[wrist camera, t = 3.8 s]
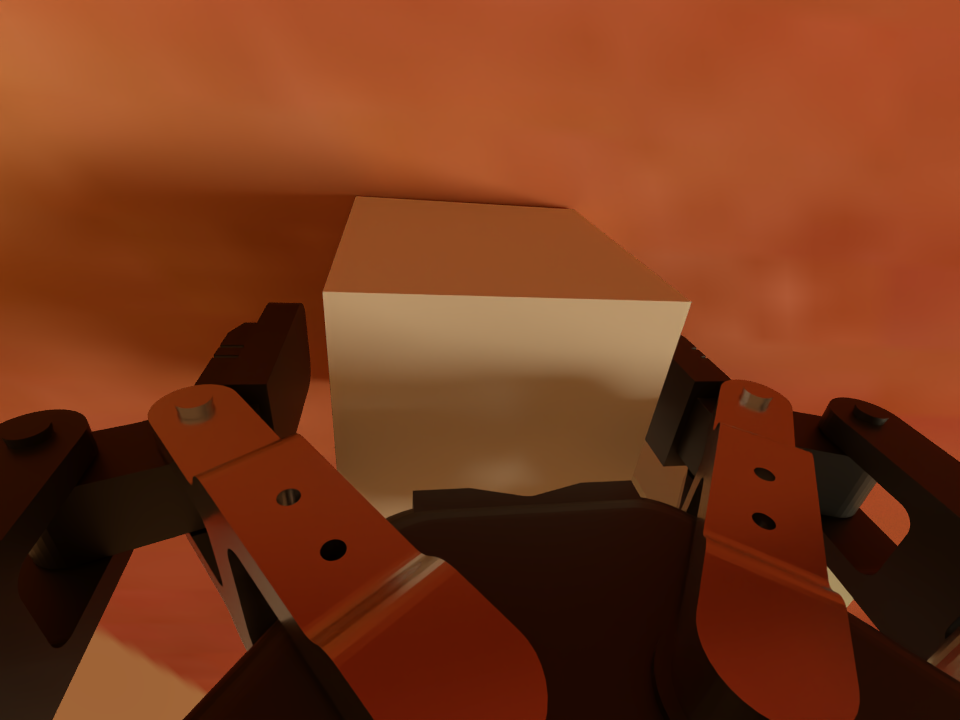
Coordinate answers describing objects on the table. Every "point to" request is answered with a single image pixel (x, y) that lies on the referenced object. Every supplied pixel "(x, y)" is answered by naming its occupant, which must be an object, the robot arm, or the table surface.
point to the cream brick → (490, 349)
